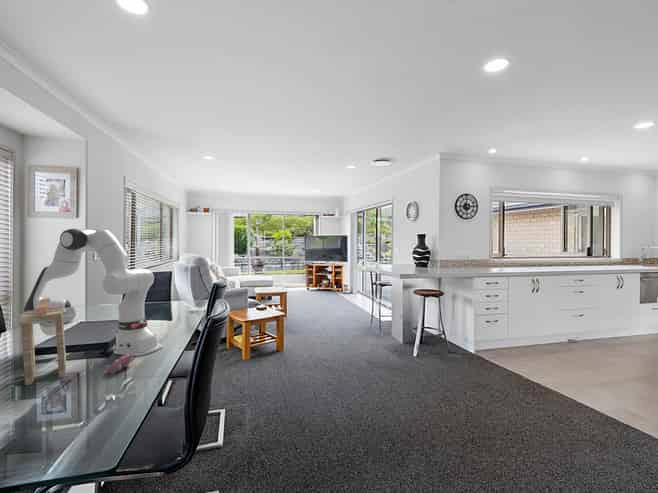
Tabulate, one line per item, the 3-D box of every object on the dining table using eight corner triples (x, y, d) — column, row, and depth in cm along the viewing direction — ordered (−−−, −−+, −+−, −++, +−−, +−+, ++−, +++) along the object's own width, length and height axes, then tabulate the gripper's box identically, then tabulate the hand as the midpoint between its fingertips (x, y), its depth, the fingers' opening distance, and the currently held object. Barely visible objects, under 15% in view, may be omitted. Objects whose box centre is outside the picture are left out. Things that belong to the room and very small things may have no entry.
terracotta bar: (41, 305, 147) (41, 298, 147) (50, 304, 149) (49, 298, 148) (36, 315, 129) (36, 307, 129) (46, 314, 131) (46, 306, 131)
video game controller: (113, 378, 135) (118, 363, 134) (104, 372, 136) (109, 358, 135) (131, 368, 145) (137, 354, 144) (123, 362, 146) (129, 349, 145)
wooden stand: (29, 372, 139) (25, 310, 137) (66, 364, 146) (62, 306, 145) (24, 386, 126) (20, 318, 125) (65, 377, 133) (61, 313, 132)
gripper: (21, 317, 156) (16, 307, 146) (75, 310, 169) (74, 300, 159) (21, 330, 154) (16, 320, 144) (76, 322, 166) (75, 312, 157)
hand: (47, 310), depth 152 cm, fingers open, 8 cm apart
